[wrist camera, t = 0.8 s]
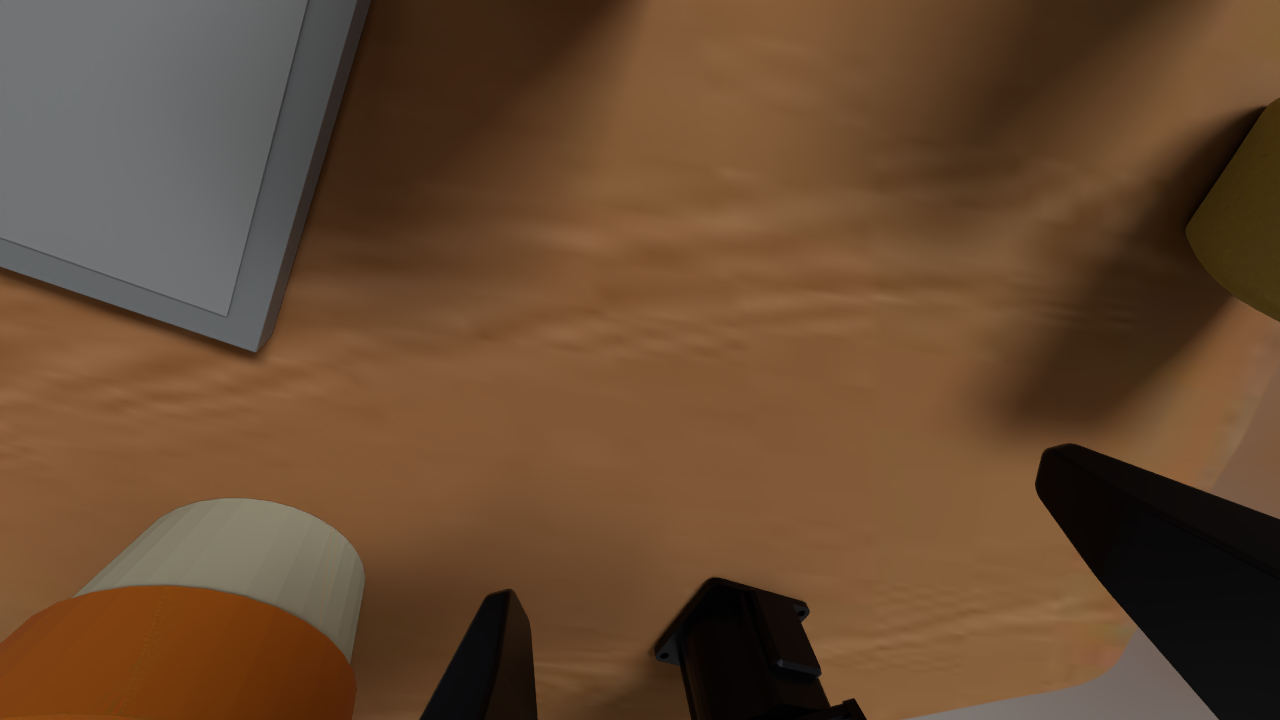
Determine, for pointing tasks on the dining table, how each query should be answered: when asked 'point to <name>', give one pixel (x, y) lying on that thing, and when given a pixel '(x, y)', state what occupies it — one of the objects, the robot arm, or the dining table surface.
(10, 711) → the reusable coffee cup
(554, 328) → the dining table surface
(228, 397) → the dining table surface
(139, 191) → the plate
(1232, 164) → the flower pot
